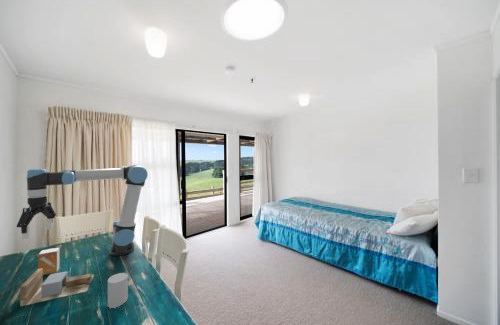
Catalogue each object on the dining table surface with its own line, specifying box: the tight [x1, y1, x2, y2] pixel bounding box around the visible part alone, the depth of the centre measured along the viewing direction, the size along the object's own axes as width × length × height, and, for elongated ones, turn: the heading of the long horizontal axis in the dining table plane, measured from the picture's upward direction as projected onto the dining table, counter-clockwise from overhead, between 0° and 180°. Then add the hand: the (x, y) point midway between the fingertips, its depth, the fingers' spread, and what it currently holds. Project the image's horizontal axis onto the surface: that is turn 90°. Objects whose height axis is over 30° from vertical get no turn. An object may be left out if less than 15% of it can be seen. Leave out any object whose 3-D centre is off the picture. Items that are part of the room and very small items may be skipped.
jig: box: [19, 268, 95, 307], centre depth 103 cm, size 24×16×10 cm, turn 117°
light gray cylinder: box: [107, 272, 129, 309], centre depth 96 cm, size 8×8×12 cm
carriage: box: [41, 271, 69, 297], centre depth 102 cm, size 7×10×6 cm
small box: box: [37, 247, 61, 276], centre depth 120 cm, size 8×6×13 cm
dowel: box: [65, 272, 93, 288], centre depth 107 cm, size 10×4×4 cm, turn 117°
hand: (38, 233), depth 113 cm, fingers open, 13 cm apart
